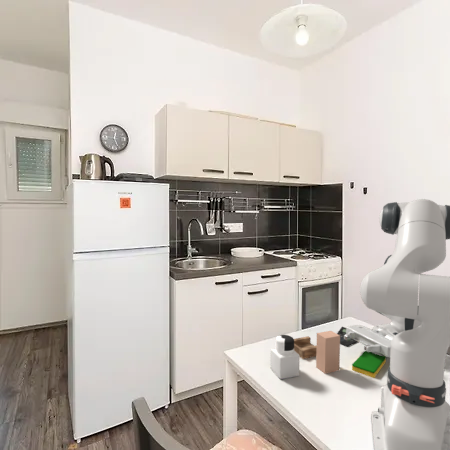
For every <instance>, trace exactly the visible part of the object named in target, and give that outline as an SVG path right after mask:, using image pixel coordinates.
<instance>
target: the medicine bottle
mask: <svg viewBox="0 0 450 450" xmlns="http://www.w3.org/2000/svg"><path fill="white" fill-rule="evenodd" d="M294 339H295V338H294V337H293V336H290V335H288V334H281V335H280V334H279V335H277V336H276V338H275V347H273V348H270V360H269V361H270V364H269V365H270V370H271V371H272V372H273V373H274V374H275V376H276V377H277V378H278V379H280V380H284V379H289V378H295V377H299V376H300V358H301V357H300V356H299V354H298V353H296V352H295V351H294Z"/></svg>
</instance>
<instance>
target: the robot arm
mask: <svg viewBox="0 0 450 450" xmlns="http://www.w3.org/2000/svg"><path fill="white" fill-rule="evenodd" d="M378 222H379V227H380V228H381V231H383V232H384V233H385V234H389V235H392V236H393V235H396V239H395V245H394V251H393V253H392V254H390V255H388V256H387V257H386V258H385V260H384V264H383V265H382V266H380V267H379V268H377V269H374V270H372V271H369V272H368V273H367V274H366V275H364V276H363V278H362V280H361V283H360V286H359V294H360V298H361V300H362V302H363V304H364V305H365V307H366V308H367V309H369V310H372V311H375V312H376V313H378V314H380V315H382V316H384V317H386V318H387V319H389V320H391V322H390V323H384V324H383V323H382V324H377V325H374V326H373V328H369V327H367V326H365V325H361V324H356V325H355V324H353V325H348V326H346V327H345V328H346V334H345V335H344V339H345V340H347V341H348V340H351V338H352V339H354V340H356V341H358V342H357V343H360V344H361V345H363V346H364V347H363V350H364V351H367V352H371V353H379V354H380V355H382V356H385V357H386V358H389V366H388V368H387V373H386V379H387V381H386V384H385V385H382V386H381V390H380V407H378V409H377V410H373V411H371V414H370V419H371V421H370V422H371V430H372V440H373V450H450V403H448V401H447V400H446V394H447V387H446V382H445V379H444V378H445V377H444V376H445V375H444V374H445V365H446V358H447V355H448V354H447V353H448V350H449V349H450V276H446V275H435V274H427V272H429V271H433V270H435V269H436V268H438V267H440V266H441V264H442V263H444V261H445V260H446V256H447V243H446V242H447V240H450V205H447V204H444V205H442V204H441V205H440V204H437V203H436V202H435V201H433V200H431V199H425V198H424V199H423V198H421V199H418V198H417V199H414V200H412V201H410V202H397V201H395V202H393V201H392V202H388V203H386V204H384V205H383V208H382V209H381V211H380V213H379V217H378ZM424 273H425V274H424Z"/></svg>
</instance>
